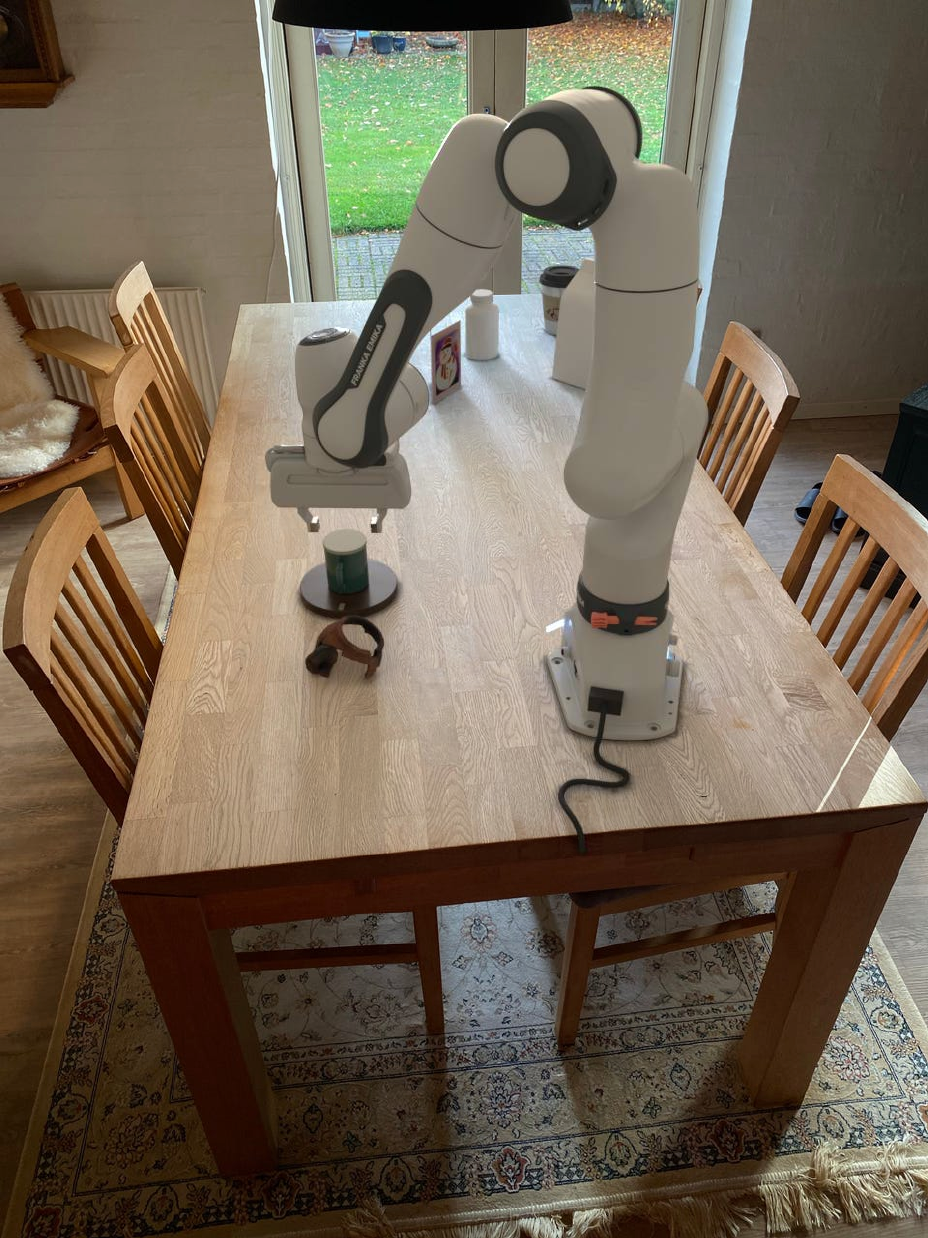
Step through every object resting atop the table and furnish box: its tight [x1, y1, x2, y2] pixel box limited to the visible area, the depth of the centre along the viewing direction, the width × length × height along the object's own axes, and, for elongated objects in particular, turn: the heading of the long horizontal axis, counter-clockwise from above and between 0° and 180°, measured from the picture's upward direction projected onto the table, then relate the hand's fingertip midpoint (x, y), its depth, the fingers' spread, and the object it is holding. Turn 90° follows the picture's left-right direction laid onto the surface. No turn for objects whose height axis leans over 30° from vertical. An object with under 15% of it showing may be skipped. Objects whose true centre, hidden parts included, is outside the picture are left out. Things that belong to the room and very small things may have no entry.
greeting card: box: [429, 320, 462, 405], centre depth 204 cm, size 11×7×15 cm, turn 148°
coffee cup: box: [538, 264, 580, 336], centre depth 235 cm, size 11×11×15 cm
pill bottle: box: [464, 288, 500, 361], centre depth 222 cm, size 8×8×15 cm
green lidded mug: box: [322, 528, 369, 594], centre depth 142 cm, size 7×9×8 cm
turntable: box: [299, 557, 398, 620], centre depth 145 cm, size 15×15×2 cm
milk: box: [551, 257, 594, 390], centre depth 207 cm, size 12×12×26 cm
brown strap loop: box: [304, 615, 385, 679], centre depth 129 cm, size 12×10×8 cm
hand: (345, 530), depth 139 cm, fingers open, 8 cm apart
